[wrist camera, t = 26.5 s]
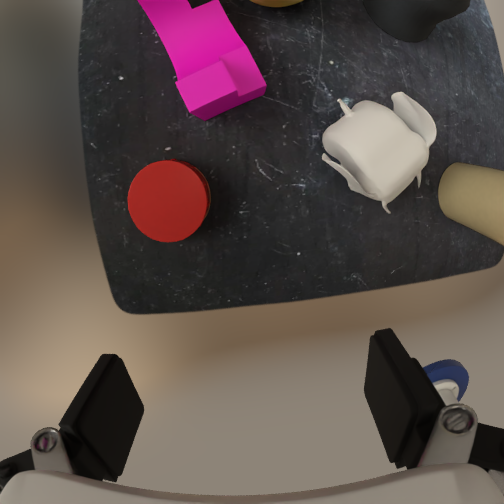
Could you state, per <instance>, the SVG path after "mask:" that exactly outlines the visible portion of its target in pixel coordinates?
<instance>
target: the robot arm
mask: <svg viewBox="0 0 504 504" xmlns="http://www.w3.org/2000/svg"><path fill="white" fill-rule="evenodd" d="M369 344H370V345H369V354H368V362H367V370H366V377H365V385H364V393H365V397H366V399H367V402H368V405H369V407H370V410H371V413H372V415H373V418H374V420H375V423H376V426H377V428H378V431H379V434H380V436H381V439H382V442H383V445H384V448H385V450H386V453H387V456H388V459H389V461H390V462H391V463H393V462H395V465H396V468H397V469H398V468H402V467H404V466H406V467H407V470H405V471H401V472H397V473H393V474H389V475H385V476H381V477H377V478H373V479H369V480H364V481H360V482H355V483H350V484H345V485H339V486H334V487H329V488H323V489H316V490H310V491H301V492H292V493H283V494H268V495H249V496H248V495H246V496H214V495H193V494H180V493H170V492H160V491H153V490H146V489H140V488H134V487H128V486H122V485H118V484H113V483H108V482H103V481H102V480H103V479H104V480H108V481H112V482H116V481H117V478H118V476H121V475H122V473H123V470H124V467H125V464H126V461H127V458H128V455H129V452H130V449H131V447H132V444H133V441H134V438H135V435H136V432H137V430H138V427H139V424H140V421H141V419H142V416H143V413H144V405H143V403H142V401H141V399H140V397H139V395H138V393H137V391H136V389H135V387H134V385H133V382H132V380H131V378H130V376H129V374H128V371H127V369H126V367H125V365H124V362H123V360H122V359H121V358H119V357H118V356H117V355H116V354H102V355H101V356H100V358H99V360H98V361H97V363H96V364H95V366H94V367H93V369H92V370H91V372H90V374H89V375H88V377H87V378H86V380H85V381H84V383H83V385H82V386H81V388H80V389H79V391H78V393H77V394H76V396H75V398H74V399H73V401H72V403H71V404H70V406H69V408H68V409H67V411H66V413H65V414H64V416H63V418H62V419H61V421H60V423H59V426H60V427H61V428H60V430H59V431H58V430H57V429H55V428H52V427H47V428H43V429H41V430H39V431H38V432H37V433H35V435H34V436H33V437H32V440H31V449H29V450H27V451H25V452H22V453H19V454H17V455H15V456H12V457H9V458H7V459H5V460H3V461H1V462H0V504H504V429H502V428H497V427H493V426H489V425H485V424H481V423H478V418H477V415H476V413H475V411H474V410H473V409H472V408H470V407H469V406H467V405H464V404H459V402H458V400H457V396H458V393H459V387H458V385H457V384H456V382H455V381H453V380H451V379H443V380H439V381H436V382H433V383H432V382H431V380H430V379H429V377H428V376H427V374H426V373H425V371H424V369H423V368H422V367H421V365H420V363H419V362H418V361H417V359H415V358H411V357H410V356H409V354H408V353H407V351H406V350H405V348H404V347H403V345H402V344H401V342H400V341H399V339H398V338H397V337H396V335H395V333H394V332H393V330H392V329H391V328H388V329H383V330H378V331H375V334H374V335H372V336H371V337H370V343H369Z"/></svg>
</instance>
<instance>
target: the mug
mask: <svg viewBox="0 0 504 504" xmlns="http://www.w3.org/2000/svg"><path fill="white" fill-rule="evenodd" d="M363 3H364V6H365V8H366V10H367V12H368V14H369V16H370V17H371V18H372V19H373V21H374V22H375V23H376V24H377V25H378V26H379V27H380V28H381V29H382V30H384V31H385V32H386V33H388V34H390V35H391V36H393V37H395V38H396V39H399V40H403V41H406V42H420V41H422V40H425V39H426V38H427V37H428V36H429V34H430V33H431V32H432V31H433V30H434V28H435V27H436V24H438V23H440V22H441V21H443V20H446V19H449V18H452V17H454V16H456V15H458V14H460V13H462V12H464V11H466V10H467V8H468V7H469V5H470V0H363Z"/></svg>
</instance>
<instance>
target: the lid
mask: <svg viewBox="0 0 504 504" xmlns="http://www.w3.org/2000/svg"><path fill="white" fill-rule="evenodd" d="M207 183H208V182H206V180H205V178H204V176H203V175H202V174H201V173H200V171H199V170H198V169H196V168H195V166H192V165H191V164H189V163H187V162H184V161H181V160H176V159H170V160H163V161H158V162H154V163H151V164H149V165H148V166H146V167H144V168H143V169H142V170H141V171H140V172H139V173H138V174H137V175H136V177H135V178H134V180H133V181H132V183H131V186H130V189H129V193H128V208H129V212H130V215H131V218H132V220H133V222H134V223H135V225H136V226H137V227H138V229H139V230H140V231H141V232H143V233H144V234H145V235H147V236H148V237H150V238H152V239H154V240H157V241H161V242H176V241H180V240H183V239H185V238H187V237H189V236H190V235H192V234H193V233H194V232H195V231H196V230H197V229H198V228H199V226H201V225H202V223H203V220H204V218H205V217H206V215H207V212H208V209H209V205H210V204H211V202H210V191H209V187H208V184H207Z"/></svg>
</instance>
